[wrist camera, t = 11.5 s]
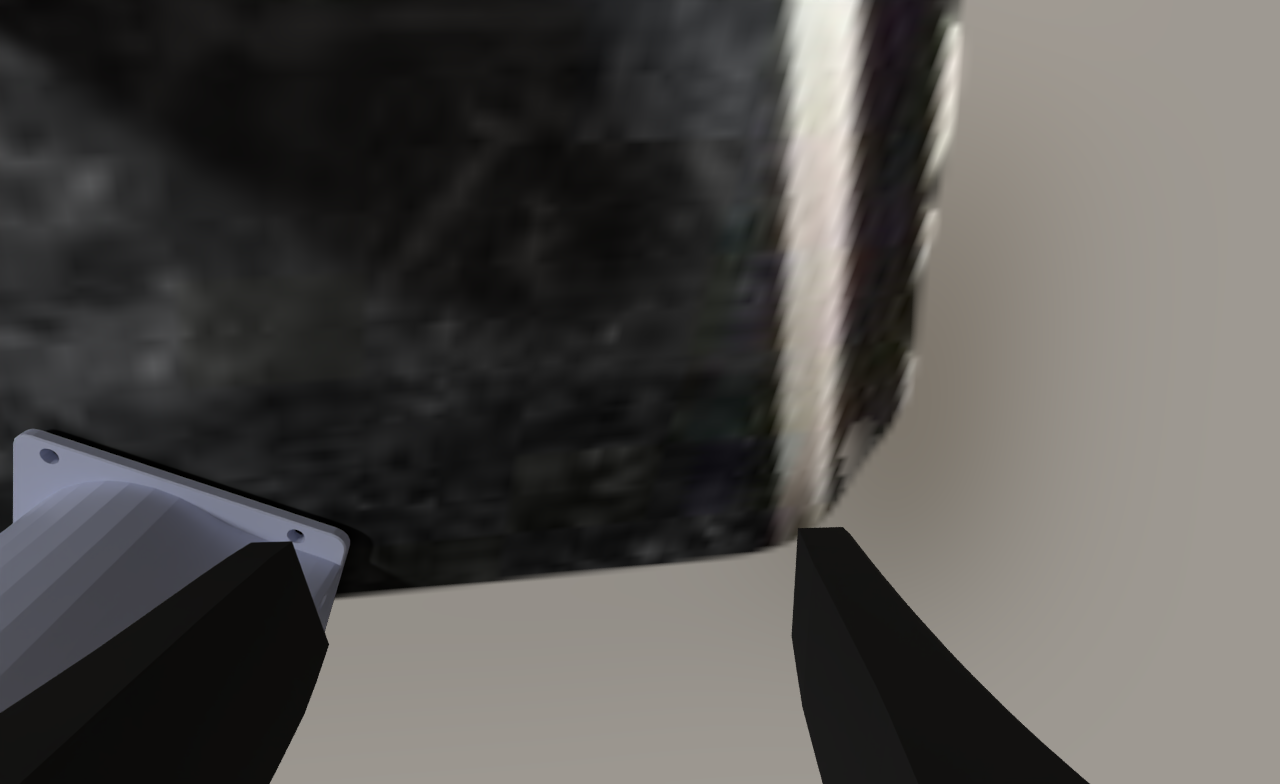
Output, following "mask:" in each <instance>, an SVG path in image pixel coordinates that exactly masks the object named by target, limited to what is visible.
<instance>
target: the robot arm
mask: <svg viewBox="0 0 1280 784" xmlns="http://www.w3.org/2000/svg"><path fill="white" fill-rule="evenodd" d="M53 451H54V452H55V453H56V454H55V453H54V452H53ZM295 530H299V531H300V532H302V533H303V534H304V535H301V534H299V533H297V532H296V531H295ZM349 547H350V539H349V537H348V535H347V534H346V533H345V532H344V531H343V530H341V529H339V528H336V527H333V526H330V525H327V524H324V523H321V522H318V521H315V520H312V519H309V518H306V517H303V516H300V515H297V514H294V513H291V512H288V511H285V510H282V509H279V508H276V507H273V506H270V505H267V504H263V503H260V502H257V501H254V500H251V499H248V498H245V497H242V496H239V495H236V494H233V493H230V492H227V491H224V490H221V489H218V488H215V487H212V486H209V485H206V484H203V483H200V482H197V481H194V480H191V479H188V478H185V477H182V476H179V475H175V474H172V473H169V472H166V471H163V470H160V469H157V468H154V467H151V466H148V465H145V464H142V463H139V462H136V461H133V460H130V459H127V458H124V457H121V456H118V455H115V454H112V453H109V452H106V451H103V450H100V449H97V448H94V447H91V446H87V445H84V444H81V443H78V442H75V441H72V440H69V439H66V438H63V437H60V436H57V435H54V434H51V433H48V432H45V431H42V430H38V429H29V430H26V431H25V432H23V433H22V434H20V435H19V436H17V437H16V438H15V439H14V443H13V524H12V525H10V526H9V527H8V528H7V529H5V530H4V531H3V532H1V533H0V784H270V782H271V780H272V778H273V776H274V774H275V772H276V770H277V768H278V766H279V764H280V762H281V760H282V758H283V756H284V754H285V752H286V750H287V748H288V746H289V744H290V742H291V740H292V738H293V736H294V734H295V732H296V730H297V728H298V726H299V724H300V722H301V720H302V718H303V716H304V714H305V711H306V708H307V705H308V703H309V700H310V698H311V695H312V692H313V690H314V687H315V684H316V682H317V679H318V676H319V673H320V670H321V667H322V664H323V661H324V658H325V655H326V652H327V649H328V646H329V643H328V640H327V638H326V635H325V629H326V626H327V622H328V619H329V615H330V612H331V608H332V605H333V602H334V598H335V595H336V591H337V588H338V584H339V581H340V578H341V574H342V571H343V567H344V564H345V560H346V557H347V554H348V550H349ZM792 641H793V649H794V655H795V662H796V669H797V675H798V682H799V688H800V694H801V701H802V707H803V711H804V715H805V718H806V722H807V726H808V730H809V733H810V737H811V741H812V745H813V749H814V753H815V756H816V760H817V764H818V768H819V771H820V775H821V779H822V783H823V784H1089V783H1088V782H1087V781H1086V780H1085V779H1083V778H1082V777H1081V776H1080V775H1079V774H1078V773H1077V772H1075V771H1074V770H1073V769H1072V768H1071V767H1070V766H1069V765H1067V764H1066V763H1065V762H1064V761H1063V760H1062V759H1061V758H1059V757H1058V756H1057V755H1056V754H1055V753H1054V752H1052V751H1051V750H1050V749H1049V748H1048V747H1047V746H1046V745H1045V744H1044V743H1042V742H1041V741H1040V740H1039V739H1038V738H1037V737H1036V736H1035V735H1034V734H1033V733H1032V732H1030V731H1029V730H1028V729H1027V728H1026V727H1025V726H1024V725H1023V724H1022V723H1021V722H1020V721H1019V720H1017V719H1016V718H1015V717H1014V716H1013V715H1012V714H1011V713H1010V712H1009V711H1008V710H1007V709H1006V708H1005V707H1004V706H1003V705H1002V704H1001V703H1000V702H999V701H998V700H997V699H996V698H995V697H994V696H993V695H992V694H991V693H990V692H989V691H988V690H987V689H986V688H985V687H984V686H983V685H982V684H981V683H980V682H979V681H978V680H977V679H976V678H975V677H973V675H972V674H971V673H970V672H969V671H968V670H967V669H966V668H965V667H964V666H963V665H962V664H961V663H960V662H959V661H958V660H957V659H956V658H955V657H954V655H953V654H952V653H950V651H949V650H948V649H947V648H946V647H945V646H944V645H943V644H942V642H941V641H940V640H939V639H938V638H937V637H936V636H935V635H934V634H933V633H932V632H931V630H930V629H929V628H928V627H927V626H926V625H925V624H924V623H923V622H922V620H921V619H920V618H919V617H918V616H917V615H916V614H915V613H914V612H913V610H912V609H911V608H910V607H909V606H908V605H907V603H906V602H905V601H904V600H903V599H902V598H901V597H900V595H899V594H898V593H897V592H896V591H895V589H894V588H893V587H892V586H891V585H890V583H889V582H888V581H887V580H886V579H885V577H884V576H883V575H882V574H881V572H880V571H879V570H878V569H877V568H876V567H875V565H874V564H873V563H872V562H871V560H870V559H869V558H868V556H867V555H866V554H865V553H864V551H863V550H862V549H861V548H860V546H859V545H858V544H857V542H856V541H855V540H854V539H853V537H852V536H851V535H850V533H848V532H847V531H846V530H845V529H844V528H843V527H829V528H798V538H797V555H796V573H795V589H794V606H793V623H792Z"/></svg>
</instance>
